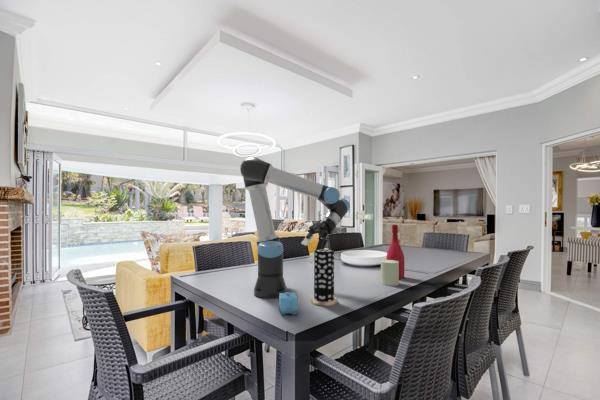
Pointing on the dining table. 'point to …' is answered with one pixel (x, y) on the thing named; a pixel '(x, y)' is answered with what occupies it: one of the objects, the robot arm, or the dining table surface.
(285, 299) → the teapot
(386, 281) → the can
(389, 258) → the wine bottle
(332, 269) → the white-spotted black cylinder
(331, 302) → the birch coaster
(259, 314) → the dining table surface
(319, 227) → the robot arm
